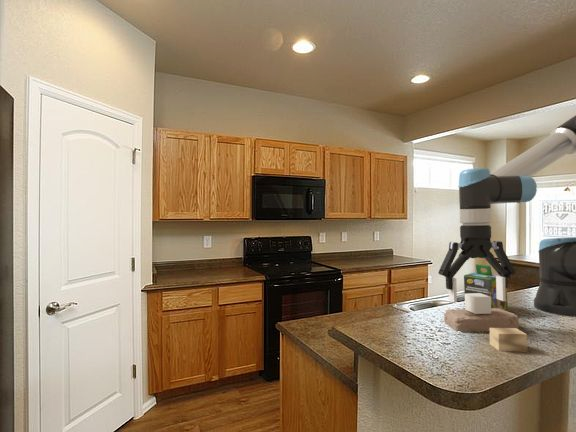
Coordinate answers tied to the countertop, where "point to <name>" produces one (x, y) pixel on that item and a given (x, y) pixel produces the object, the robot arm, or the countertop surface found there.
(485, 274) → the chalk box
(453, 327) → the brick
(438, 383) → the countertop surface
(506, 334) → the oak block
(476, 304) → the beige cube
